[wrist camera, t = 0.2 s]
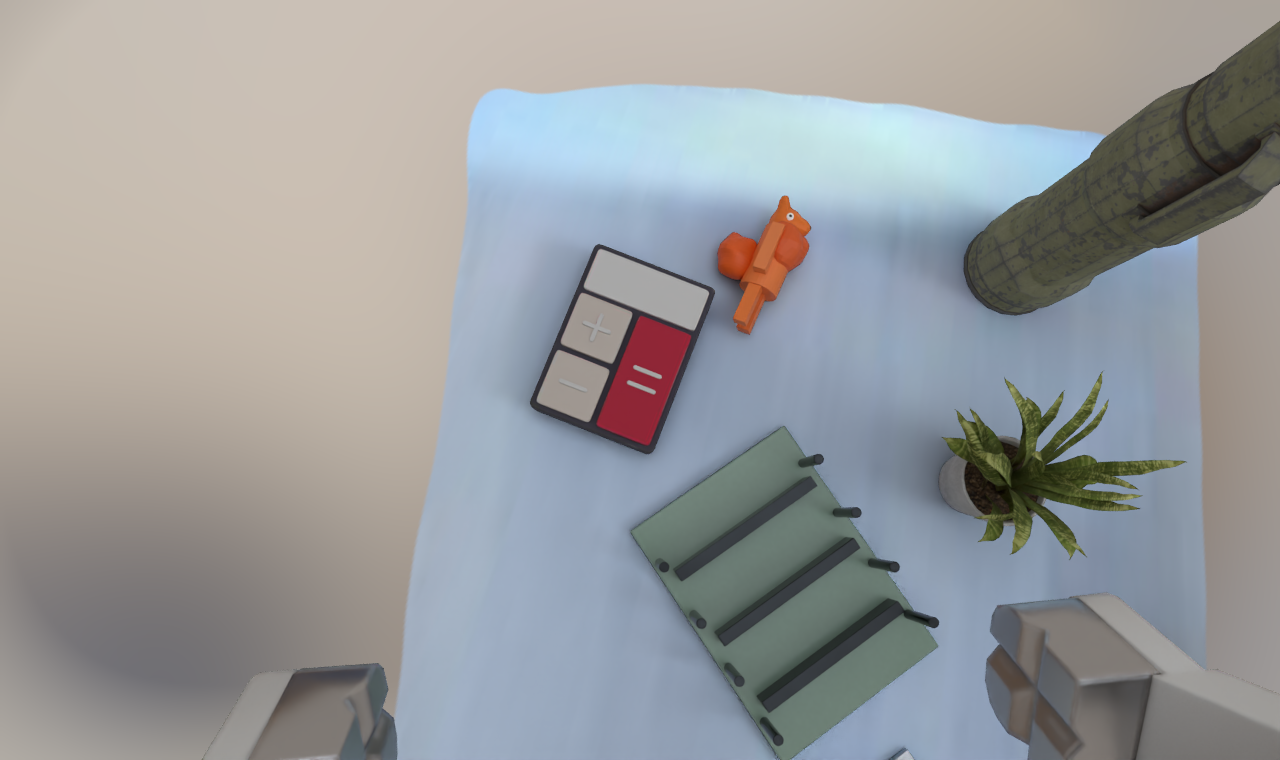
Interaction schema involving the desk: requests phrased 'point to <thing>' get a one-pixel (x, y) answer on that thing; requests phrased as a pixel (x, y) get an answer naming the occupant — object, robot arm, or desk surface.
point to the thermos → (1141, 186)
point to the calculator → (622, 349)
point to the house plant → (1032, 473)
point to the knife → (903, 755)
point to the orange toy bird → (764, 261)
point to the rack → (785, 592)
